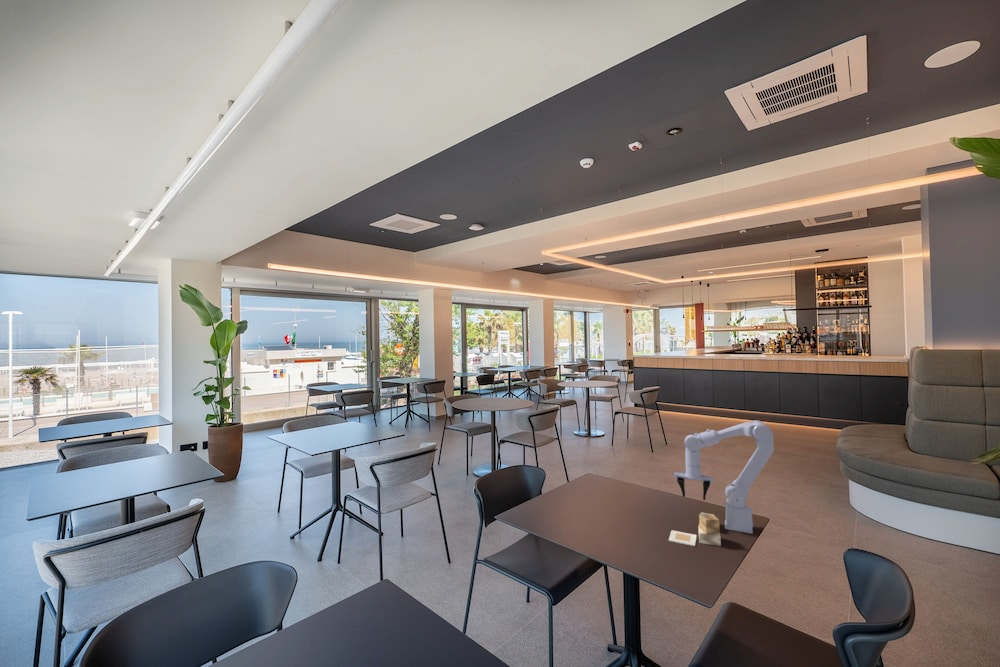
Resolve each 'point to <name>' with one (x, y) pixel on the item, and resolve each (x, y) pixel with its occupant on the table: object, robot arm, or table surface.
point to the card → (682, 538)
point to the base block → (709, 538)
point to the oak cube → (709, 523)
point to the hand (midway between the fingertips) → (694, 497)
